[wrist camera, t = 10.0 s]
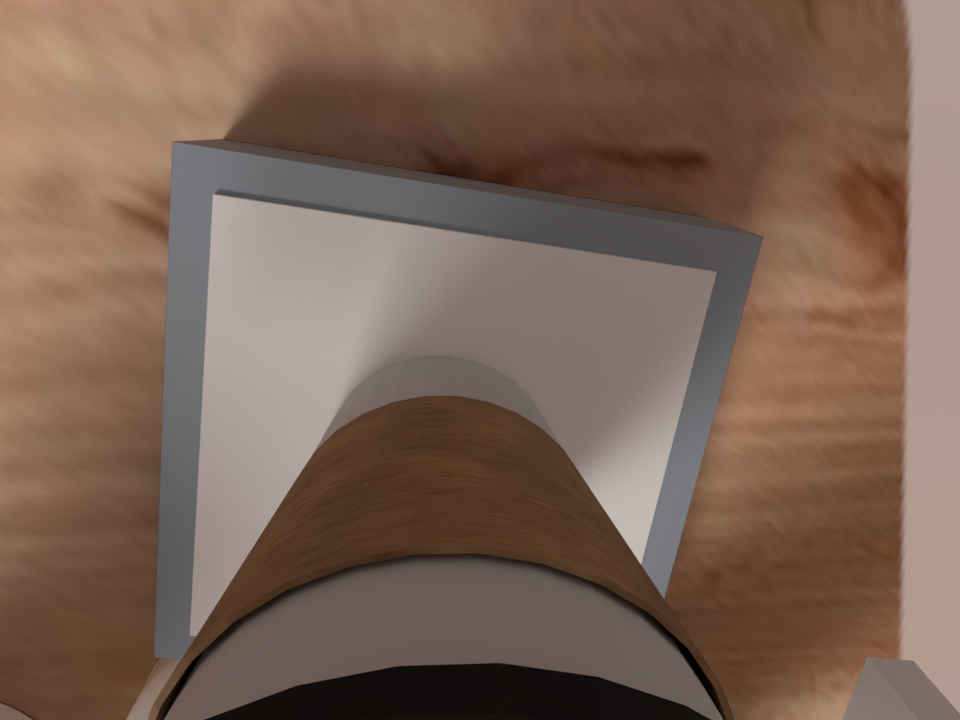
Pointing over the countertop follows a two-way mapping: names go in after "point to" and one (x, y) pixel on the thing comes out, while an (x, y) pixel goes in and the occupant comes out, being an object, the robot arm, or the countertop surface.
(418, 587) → the coffee cup
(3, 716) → the container
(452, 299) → the podium
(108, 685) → the countertop surface
